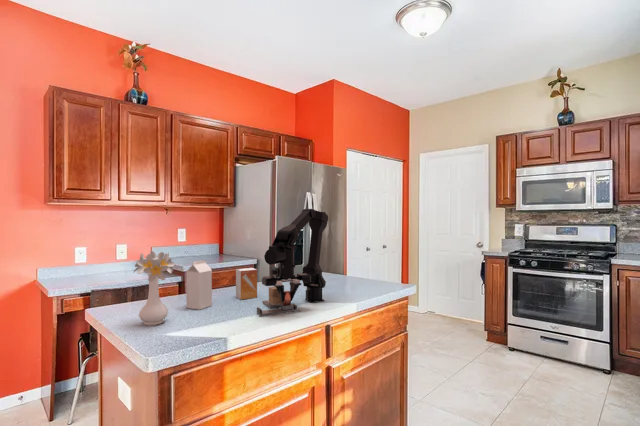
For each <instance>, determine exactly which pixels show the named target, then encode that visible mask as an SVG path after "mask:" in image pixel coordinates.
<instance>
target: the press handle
mask: <svg viewBox="0 0 640 426" xmlns="http://www.w3.org/2000/svg"><path fill="white" fill-rule="evenodd" d="M291 303H292V301H291V291H290V290H284V302H283V304H280V308H281V309H283V310H289V309H294V305H293V304H291ZM280 308H279V309H280Z"/></svg>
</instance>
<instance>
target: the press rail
mask: <svg viewBox="0 0 640 426" xmlns="http://www.w3.org/2000/svg"><path fill="white" fill-rule="evenodd" d="M291 304H293V305H294V309H289V310H283V309H281V308H273V309H266V310H263V309H262V308H261V307H256V315H257V316H258V315H259V317H260V318H261V317H268V316H277V315H282V314H283V315H285V314H290V313H292V314H293V313H297V312H298V304H295V303H294V302H291Z"/></svg>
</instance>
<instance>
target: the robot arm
mask: <svg viewBox="0 0 640 426" xmlns="http://www.w3.org/2000/svg"><path fill="white" fill-rule="evenodd" d="M328 222H329V215H328V214H327V212H325V211H320V210H316V209H313V208H304V209H302V211H301V213H300V214H299V215H298V216H297V217H295V219H294V220H293V221H292V222H291V223H290V224H289V225H287V226H283V227H281V228H280V229H279V230H277V232H276V236H275V237H274V240H273V241H272V244H271V245H269V246H268V249H267V250H266V251H265V254H264V261H265V263H267V265H270V271H269V272H270V274H269V275H267V276H263V277H262V278H261V284H262V285H263V286H265V287H276V288H277V290H278V293H279V295H280V298H281V301H282V302H284V291H285V285H283V283H289V287H290V288H289V291H291V302H292V301H293V299H294V297H295V295H296V293H297V290H298V289H299V287H300V286H303V287H306V289H305V299H304V300H305V301H307V302H309V303H318V302H325V299H323V289H324V288H325V287H326V283H327V282H326V280H325V278H324V277H323V269H322V268H321V266H320V260H321V259H320V258H321V249H322V241H323V240H322V239H323V232H324V231H325V229H326V228H327V227H328ZM307 224H308V227H309V228H310V230H311V233H310V239H309V240H310V242H309V252H308V260H307V264H306V265H305V266H303V267H302V273H297V274H295V268H296V264H295V250H297V248H298V247H297V246H296V245H295V243H296V242H297V241H298V239H299V236H300V232H301V231H302V230H303V229H304V228H305V226H307ZM277 264H278V265H277ZM271 265H277V267H276V266H271ZM301 282H302V283H301ZM302 284H303V285H302Z"/></svg>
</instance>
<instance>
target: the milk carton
mask: <svg viewBox="0 0 640 426" xmlns="http://www.w3.org/2000/svg"><path fill="white" fill-rule="evenodd" d="M212 275H213V270H212V268H211V267H210V266H209V264H207V263H206V260H205V259H204V260H197V261H193V262H192V265H190V267H189V268H188V269H187V270H186V275H185V276H186V280H185V281H186V285H185V286H186V289H185V290H186V293H185V294H186V296H185V297H186V299H185V300H186V307H185V308H186V309H193V310H198V311H199V310H203V309H207V308H209V307H212V306H213V301H212V300H213V298H212V297H213V290H212V289H213V286H212V285H213V283H212V282H213V276H212Z"/></svg>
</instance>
